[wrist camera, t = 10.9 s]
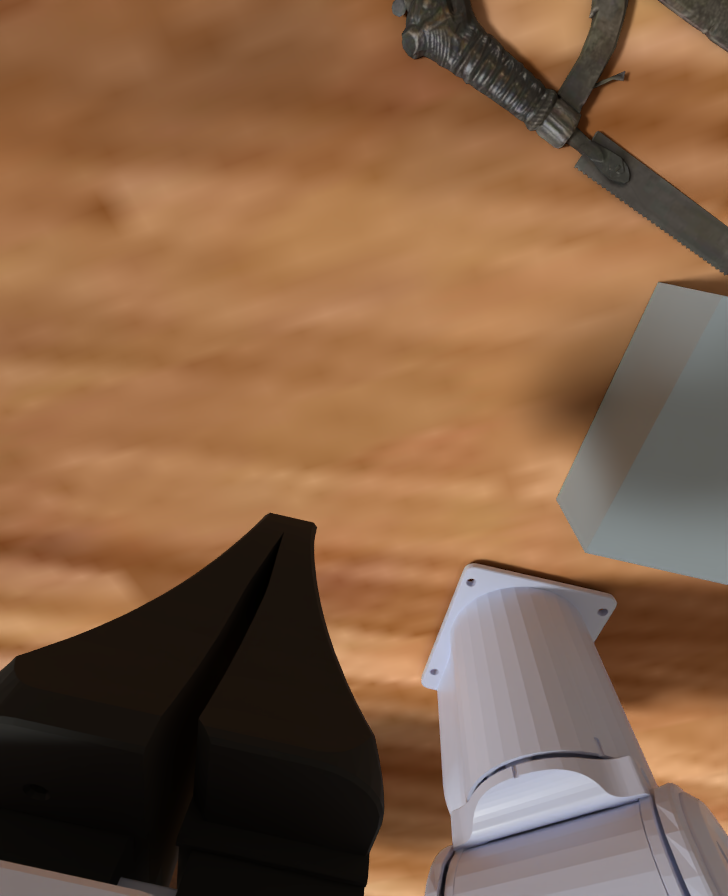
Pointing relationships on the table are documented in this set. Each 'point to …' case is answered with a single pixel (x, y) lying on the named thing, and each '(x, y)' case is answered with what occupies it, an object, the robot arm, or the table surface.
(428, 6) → the hacksaw
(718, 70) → the table surface
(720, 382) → the gray rectangular block
